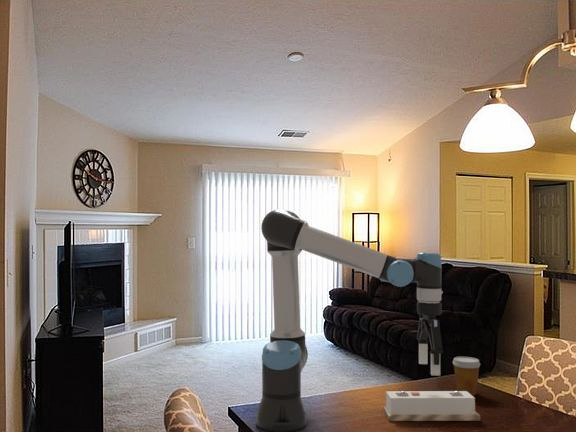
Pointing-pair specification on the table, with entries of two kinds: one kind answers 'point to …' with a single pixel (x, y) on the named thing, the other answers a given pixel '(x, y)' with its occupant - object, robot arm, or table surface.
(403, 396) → the chrome knobs
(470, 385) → the disposable coffee cup
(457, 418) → the hanger board
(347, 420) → the table surface
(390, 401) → the power strip
